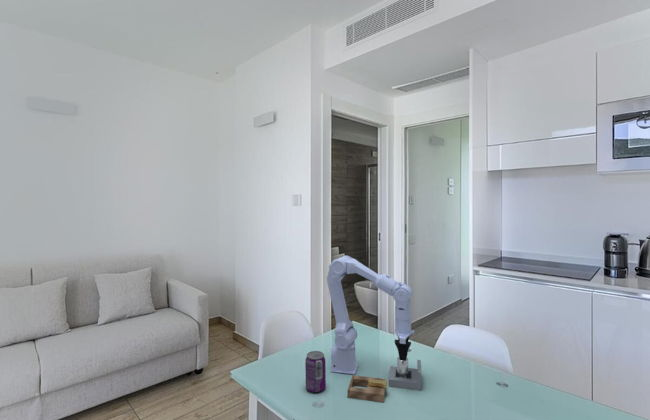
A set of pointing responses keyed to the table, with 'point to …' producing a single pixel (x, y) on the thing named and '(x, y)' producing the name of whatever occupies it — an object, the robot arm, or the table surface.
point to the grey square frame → (405, 382)
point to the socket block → (365, 394)
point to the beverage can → (315, 371)
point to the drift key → (377, 383)
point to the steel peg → (402, 368)
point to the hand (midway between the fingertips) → (403, 355)
